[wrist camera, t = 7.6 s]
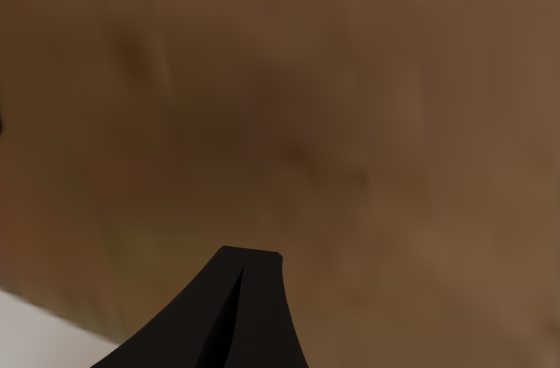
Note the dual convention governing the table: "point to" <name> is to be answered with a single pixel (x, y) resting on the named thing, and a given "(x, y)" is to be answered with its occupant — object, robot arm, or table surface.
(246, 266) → the robot arm
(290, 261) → the table surface
